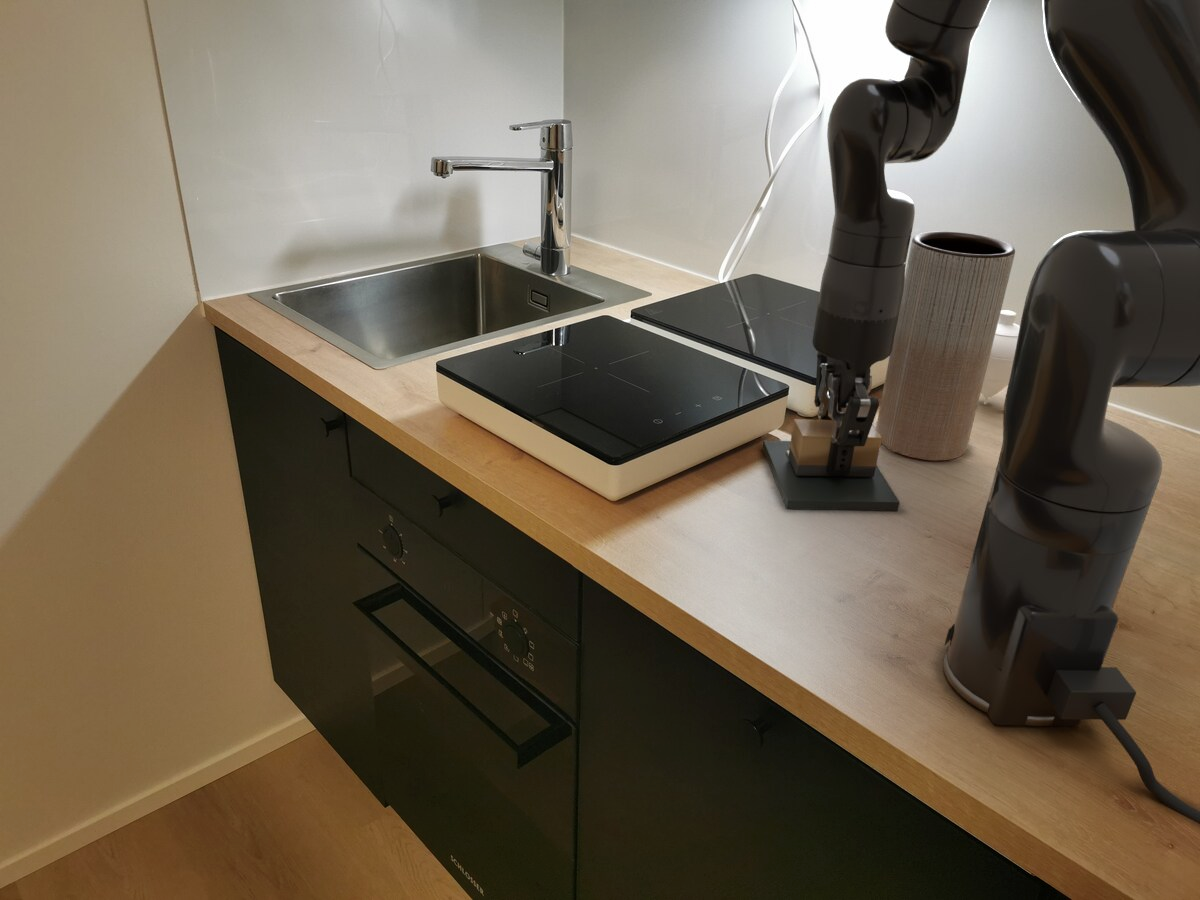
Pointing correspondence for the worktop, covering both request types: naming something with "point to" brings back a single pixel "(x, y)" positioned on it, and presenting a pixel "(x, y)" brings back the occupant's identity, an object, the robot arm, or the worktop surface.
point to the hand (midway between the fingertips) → (831, 463)
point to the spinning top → (1001, 355)
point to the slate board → (827, 486)
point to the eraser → (828, 449)
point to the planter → (942, 342)
